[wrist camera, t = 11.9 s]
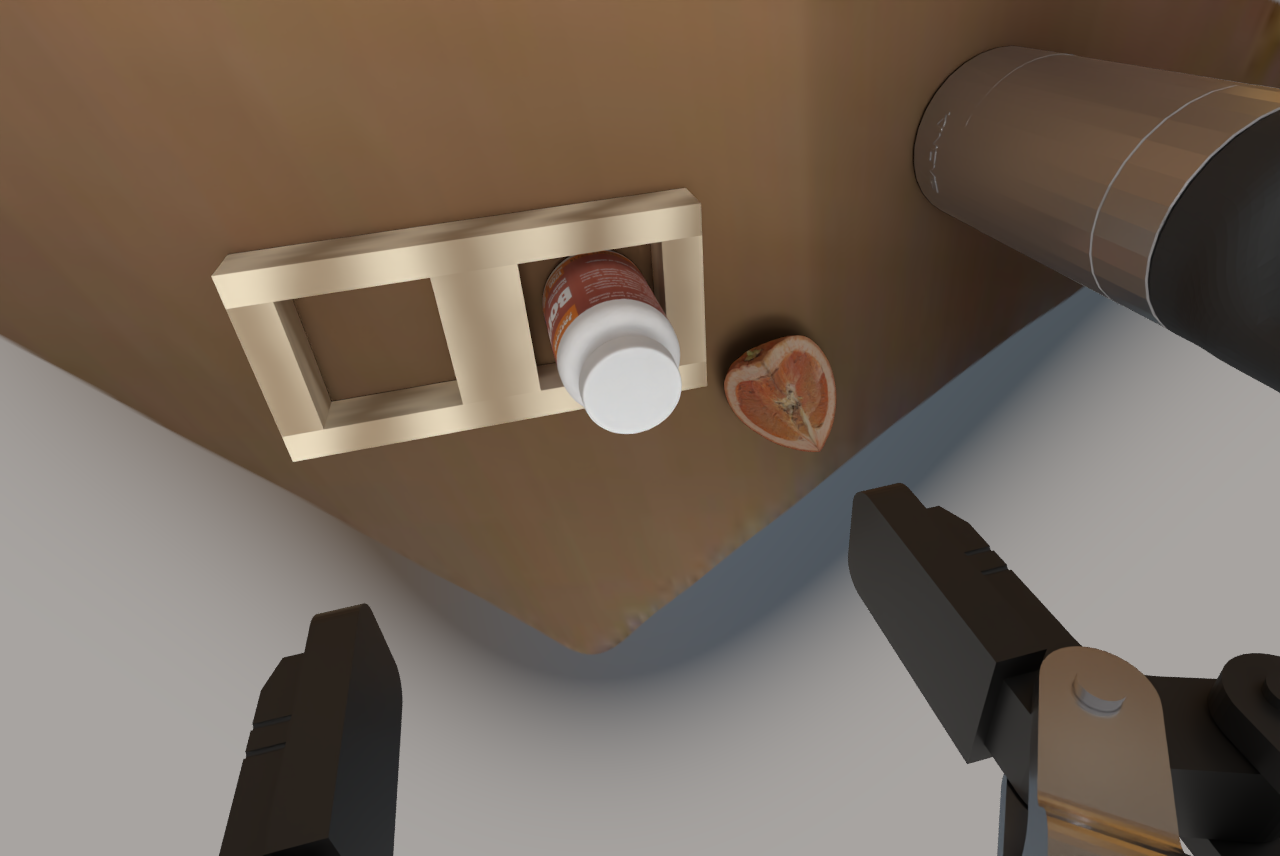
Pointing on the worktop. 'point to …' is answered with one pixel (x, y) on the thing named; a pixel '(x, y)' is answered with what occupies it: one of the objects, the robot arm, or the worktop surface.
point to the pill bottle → (612, 342)
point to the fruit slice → (784, 392)
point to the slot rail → (453, 315)
